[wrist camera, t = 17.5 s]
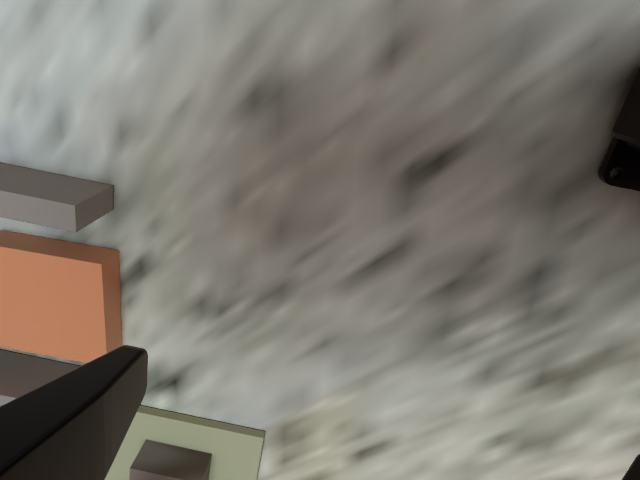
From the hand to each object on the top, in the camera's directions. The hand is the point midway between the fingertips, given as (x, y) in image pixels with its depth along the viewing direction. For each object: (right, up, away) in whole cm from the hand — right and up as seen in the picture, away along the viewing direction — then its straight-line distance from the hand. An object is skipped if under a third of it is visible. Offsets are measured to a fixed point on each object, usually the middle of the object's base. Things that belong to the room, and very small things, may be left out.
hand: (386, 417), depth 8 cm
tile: (-15, +1, +16) cm, 22 cm away
